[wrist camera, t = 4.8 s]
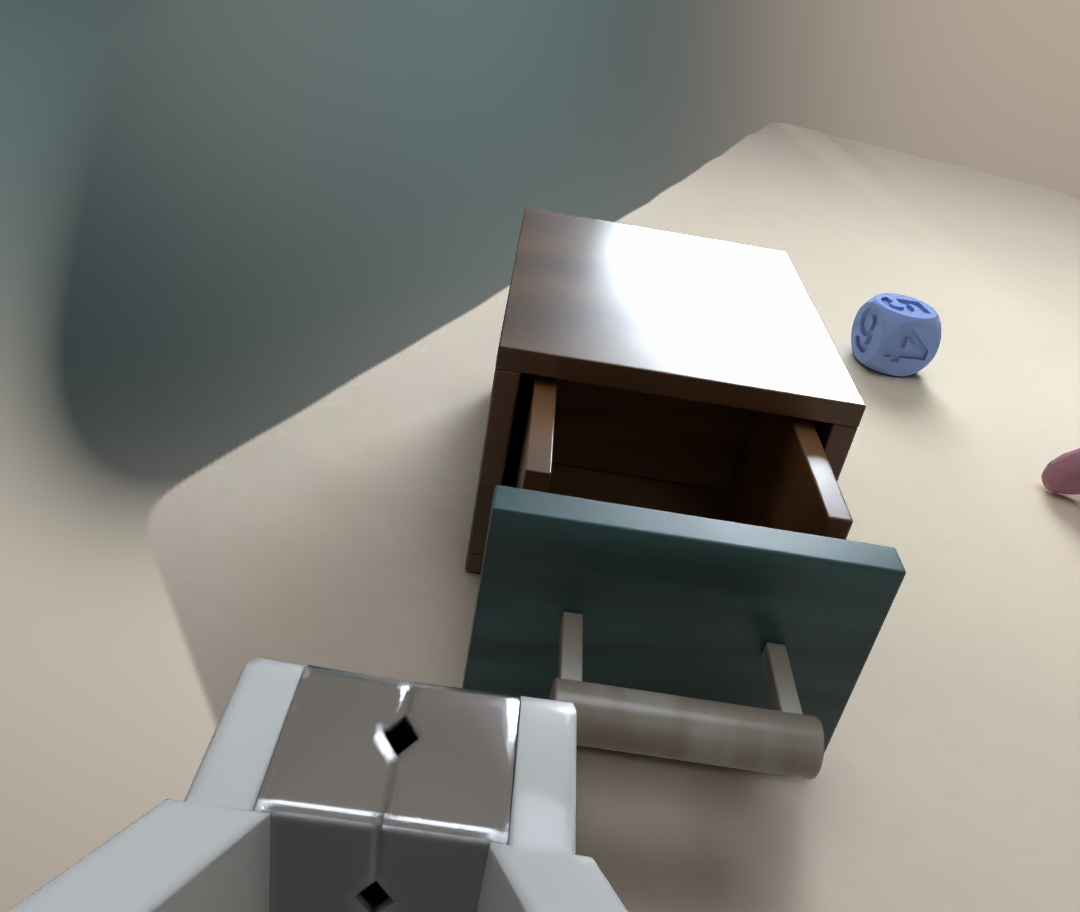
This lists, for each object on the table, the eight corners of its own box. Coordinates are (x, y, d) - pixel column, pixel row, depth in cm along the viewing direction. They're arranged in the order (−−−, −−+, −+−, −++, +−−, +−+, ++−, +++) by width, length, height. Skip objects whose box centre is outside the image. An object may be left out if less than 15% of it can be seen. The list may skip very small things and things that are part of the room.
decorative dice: (926, 379, 61) (950, 322, 59) (869, 374, 61) (891, 315, 59) (898, 351, 65) (920, 295, 63) (844, 346, 64) (864, 290, 62)
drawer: (851, 890, 27) (960, 687, 23) (439, 832, 26) (475, 614, 22) (752, 508, 43) (805, 349, 39) (496, 467, 43) (523, 302, 39)
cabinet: (784, 620, 38) (866, 406, 33) (464, 571, 38) (498, 345, 33) (733, 425, 52) (786, 251, 47) (497, 387, 51) (524, 206, 46)
